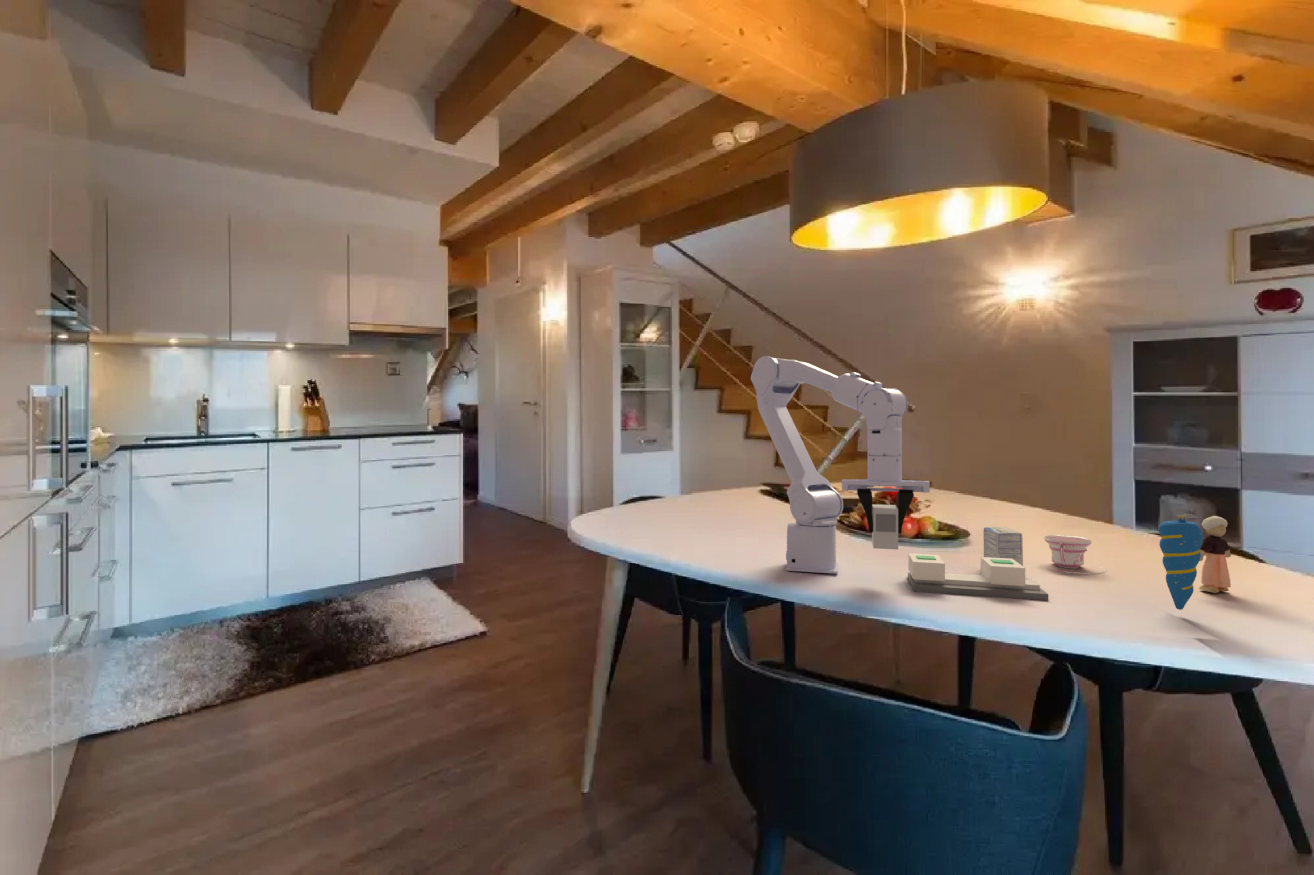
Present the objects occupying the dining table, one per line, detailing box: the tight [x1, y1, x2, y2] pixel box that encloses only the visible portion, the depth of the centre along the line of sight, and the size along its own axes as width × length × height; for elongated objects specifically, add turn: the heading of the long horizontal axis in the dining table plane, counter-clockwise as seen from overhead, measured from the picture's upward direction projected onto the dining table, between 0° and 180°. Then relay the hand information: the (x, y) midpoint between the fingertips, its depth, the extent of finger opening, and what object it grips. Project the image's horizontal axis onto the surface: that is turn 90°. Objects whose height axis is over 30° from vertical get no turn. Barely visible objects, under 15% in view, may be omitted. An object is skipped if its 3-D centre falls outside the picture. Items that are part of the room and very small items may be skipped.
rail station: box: [907, 552, 1049, 601], centre depth 104 cm, size 20×10×5 cm, turn 73°
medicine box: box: [983, 526, 1024, 567], centre depth 114 cm, size 8×4×9 cm, turn 168°
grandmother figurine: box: [1198, 515, 1232, 593], centre depth 103 cm, size 8×4×13 cm, turn 117°
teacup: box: [1041, 534, 1106, 576], centre depth 120 cm, size 12×12×6 cm
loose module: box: [871, 503, 899, 550], centre depth 106 cm, size 4×6×7 cm, turn 163°
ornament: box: [1157, 510, 1204, 611], centre depth 91 cm, size 5×5×15 cm
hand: (884, 532), depth 106 cm, fingers closed on loose module, 4 cm apart
